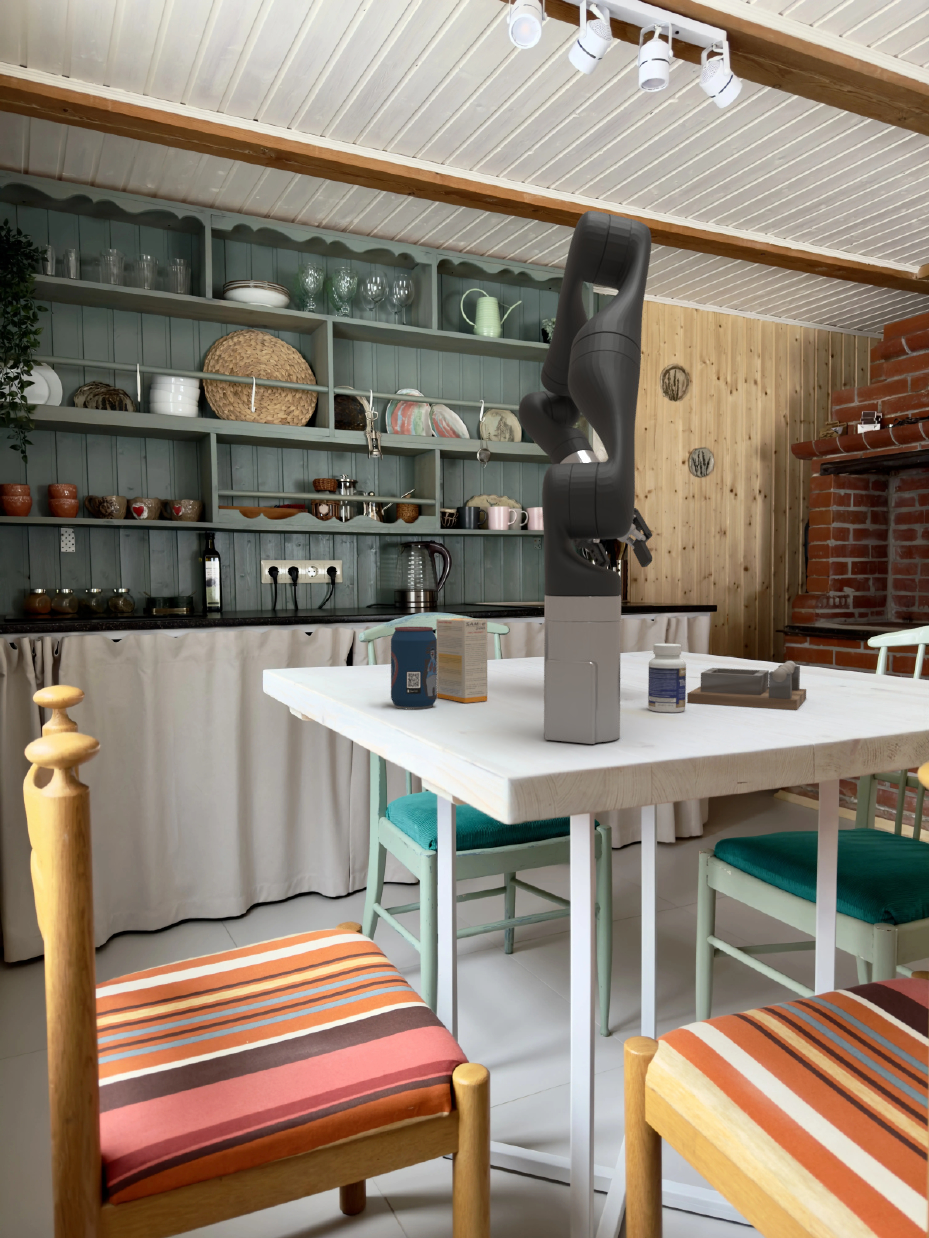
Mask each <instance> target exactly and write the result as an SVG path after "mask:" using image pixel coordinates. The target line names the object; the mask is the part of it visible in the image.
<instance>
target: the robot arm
mask: <svg viewBox="0 0 929 1238" xmlns="http://www.w3.org/2000/svg"><path fill="white" fill-rule="evenodd" d="M651 251H652V233H651V230H650V228H649V227H648V225H647V224H645V223H644V222H641V221H639V220H636V219H632V218H628V217H625V216H624V217H623V216H621V215H616V214H615V215H614V214H612V213H607V212H602V211H598V210H597V211H595V210H587V211H585V212H584V213H583V214H581V216H580V218H579V220H578V221H577V223H576V226H575V228H574V231H573V235H572V237H571V241H570V244H569V248H568V253H567V258H566V262H565V267H564V271H563V278H562V282H561V286H560V287H561V288H560V292H559V298H558V303H557V309H556V315H555V322H554V325H553V326H554V327H553V330H552V331H553V332H552V336H551V339H550V342H549V346H548V349H547V352H546V356H545V358H544V361H543V365H542V368H541V373H540V382H541V385H542V386H543V388H545V390H541V391H534V392H530V393H527V394H526V395H524V396H523V397H522V398H521V400H520V403H519V405H518V418H519V421H520V424H521V426H522V428H523V429H524V431H525V432H526V434H527V435H528V436H529V437H530V439H531V440H532V441H534V443H535V444H536V445H537V446H538V447H539V448H540V449H541V450H542V451H543V452H544V453H545V454H546V455H547V456H548V458H549V460H550V462H551V464H552V465H550V466H549V467H548V468H547V470H546V471H545V473H544V477H543V482H542V490H541V491H542V492H541V501H542V502H541V503H542V504H541V506H542V525H543V545H544V547H543V548H544V549H543V553H544V556H543V557H544V560H543V561H544V562H543V563H544V565H543V566H544V620H543V621H544V623H543V625H544V626H543V627H544V628H543V629H544V631H543V632H544V635H543V636H544V637H543V638H544V639H543V643H544V644H543V646H544V648H543V651H544V652H543V653H544V654H543V661H544V662H543V664H544V665H543V736H544V740H546V741H547V740H548V741H559V742H560V741H561V742H568V743H579V744H589V745H592V744H593V745H594V744H596V743H602V742H603V743H604V742H611V741H616V740H618V739H620V737H621V640H622V639H621V638H622V637H621V636H622V635H621V634H622V633H621V632H622V631H621V629H622V628H621V627H622V625H621V624H622V623H621V621H622V578H621V575H620V573H618V572H617V571H615V570H613V569H610V568H608V567H609V566H610V564H611V560H610V558H609V556H608V554H607V552H606V550H605V548H604V545H603V544H602V543H600V540H614V539H617V540H618V541H619V542H621V543H626V544H627V545H629V546H630V547H631V548H632V551H633V553H634V555H635V557H636V560H637V561H638V563H639V564H640V567H642V568H647V567H649V565H650V564H651V563H652V561H653V555H652V552H651V551H650V549H649V548H648V546H647V542H648V541H649V540H650V539H651V538H652V537H653V533H652V531H651V530H650V528H649V526H648V524H647V523H646V521H645V519H644V517H643V516H642V514H641V512H640V511H639V509H637V508H636V507H635V502H636V501H635V500H636V498H635V497H636V465H635V464H636V459H635V458H636V457H635V455H636V453H635V452H636V451H635V450H636V448H635V447H636V445H635V436H636V432H635V431H636V430H635V429H636V418H637V417H636V416H637V406H638V397H639V388H640V386H639V385H640V378H641V377H640V376H641V364H642V362H641V361H642V330H643V310H644V299H645V293H646V286H647V282H648V274H649V269H650V263H651V262H650V261H651V260H650V259H651ZM584 283H588V284H594V285H598V286H602V287H607V288H611V289H615V290H616V291H617V293H616V295H615V296H614V297H613V298H612V299H611V301H609V303H607V304H606V305H605V306H604V307H602V308H601V309H600V310H599V311H597V312H596V313H595V314H594V315H593V316H592V317H591V318H590V319H588V316H587V314H586V313H587V312H586V311H585V310H586V309H585V306H584V303H583V285H584ZM581 415H582V417H584V418H585V420H586V422H587V423H589V425H590V426H591V428H592V429H593V431H594V432H595V433H596V434H597V436H598V437H599V440H600V441H601V443H602V446H603V447H604V449H605V451H606V456H607V460H605V461H600V459H599V458H598V456H597V455H596V453H595V451H594V450H593V448H592V445H591V443H590V442H589V440H588V437H587V435H586V434H585V433H584V432H583V431H582V430H581V429H579V428H577V427H575V425H576V424H577V423H578V422H579V420H580V417H581ZM641 532H642V533H641ZM631 536H633V537H634V538H635V539H633V538H632V537H631ZM573 546H574V547H575V549H577V550H580V549H585V551H586V552H588V553H589V555H590V556H591V559H592V561H593V562H591V561H589V560H587V559H585V558H584V557H582V556H581V555H580V554H578V553H577V552H576V551H575V549H574V547H573Z"/></svg>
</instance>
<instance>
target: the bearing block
mask: <svg viewBox="0 0 929 1238" xmlns="http://www.w3.org/2000/svg"><path fill="white" fill-rule="evenodd" d="M800 679H801V665H797V664H796V663H795V662H794V661H793V660H787V661H786V662H783V664H780V665H778V667H777V668H776V669H774V670H771V671H769V670H768V669H767V670H765V669H749V668H748V669H747V668H745V669H742V668H723V667H711V668H709V669H706V670H703V672H700V686H699V687H697V688H695V689H693V690H691V691H689V692H687V693H686V697H687V700H686V703H687V704H699V705H701V704H702V705H703V704H704V705H715V706H730V707H732V706H733V707H743V708H744V707H747V708H758V709H759V708H761V709H776V710H789V711H798V709H799V708H800V707H801V706H802V704H803V703H804V702H805V701H806V699H807V689H806V688H800V685H801V684H800Z"/></svg>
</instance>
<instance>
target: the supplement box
mask: <svg viewBox="0 0 929 1238" xmlns="http://www.w3.org/2000/svg"><path fill="white" fill-rule="evenodd" d="M435 621H436V625H435V626H436V639H437V698H438V699H446V700H450V701H455V702H459V703H464V704H465V703H466V704H467V703H468V704H469V703H471V704H472V703H479V702H487V701H488V619H486V618H471V617H446V618H445V617H442V618H437V619H435ZM437 698H436V699H437Z"/></svg>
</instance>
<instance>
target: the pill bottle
mask: <svg viewBox="0 0 929 1238" xmlns="http://www.w3.org/2000/svg"><path fill="white" fill-rule="evenodd" d="M652 652H653V655H654V657H653V658H651V659H650V660H649V661H648V683H647V684H648V687H647V688H648V690H647V692H648V693H647V694H648V695H647V696H648V697H647V698H648V700H647V702H648V703H647V704H648V705H647V707H648V709H649V710H650V711H652V712H657V713H658V712H659V713H680V712H685V710H686V703H687V700H686V697H687V693H686V692H687V691H686V690H687V689H686V688H687V663H686V661H685V660H684V659H682V658H681V657H680V655H682V645H681V644H679V643H654V644H653V650H652Z"/></svg>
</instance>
